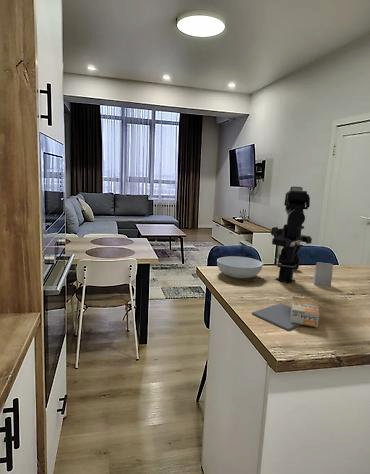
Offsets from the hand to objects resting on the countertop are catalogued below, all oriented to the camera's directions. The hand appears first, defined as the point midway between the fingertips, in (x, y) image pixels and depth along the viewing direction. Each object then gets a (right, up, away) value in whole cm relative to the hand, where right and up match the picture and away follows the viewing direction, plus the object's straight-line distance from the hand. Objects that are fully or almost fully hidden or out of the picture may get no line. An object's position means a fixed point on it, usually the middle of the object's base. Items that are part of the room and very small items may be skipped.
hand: (289, 261), depth 132 cm
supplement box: (-1, -13, -17) cm, 22 cm away
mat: (-9, -17, -22) cm, 29 cm away
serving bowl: (-17, -8, +22) cm, 29 cm away
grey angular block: (+19, -12, +16) cm, 28 cm away
